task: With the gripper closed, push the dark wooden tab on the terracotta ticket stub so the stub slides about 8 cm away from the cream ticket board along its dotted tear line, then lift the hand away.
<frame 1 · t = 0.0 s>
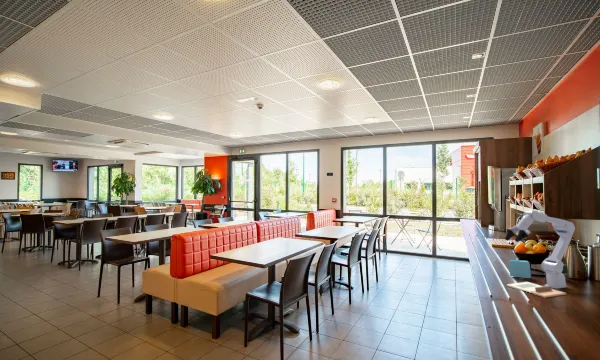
hand: (511, 240, 192), 32 cm above the counter, tool tilted 50°, fingers open, 7 cm apart
beer bottle: (562, 280, 207), on the counter
ticket board: (528, 288, 194), on the counter
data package: (520, 277, 218), on the counter
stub: (548, 291, 181), point 2 cm above the counter, slide at 0.0 cm
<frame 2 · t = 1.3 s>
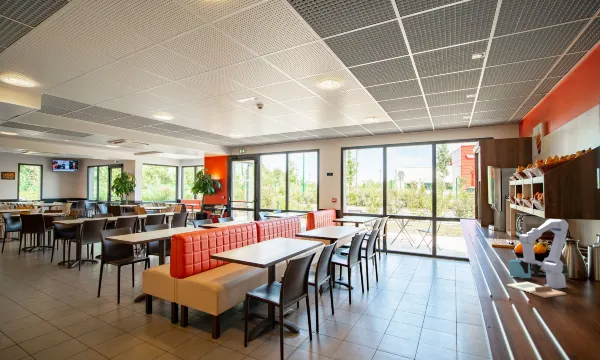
hand: (531, 274, 192), 9 cm above the counter, tool pointing down, fingers open, 6 cm apart
nothing on the counter moved.
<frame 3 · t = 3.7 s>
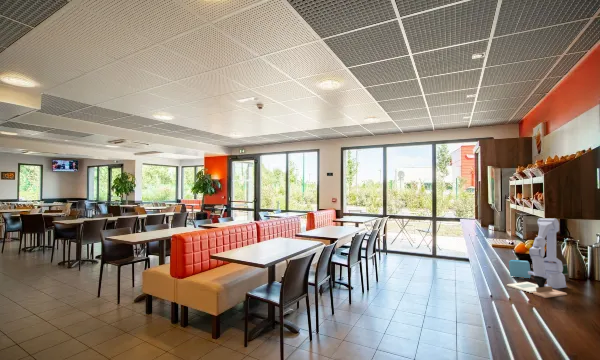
hand: (541, 288, 186), 2 cm above the counter, tool pointing down, fingers closed
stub: (549, 291, 181), point 2 cm above the counter, slide at 0.5 cm, touching gripper
everything else where it was.
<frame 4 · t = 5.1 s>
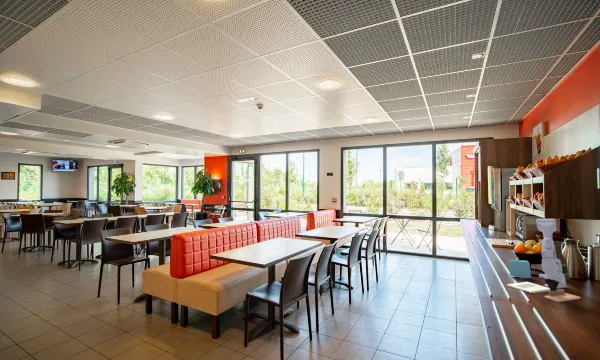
hand: (553, 292, 178), 2 cm above the counter, tool pointing down, fingers closed
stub: (561, 295, 173), point 2 cm above the counter, slide at 8.1 cm, touching gripper
everything else where it was.
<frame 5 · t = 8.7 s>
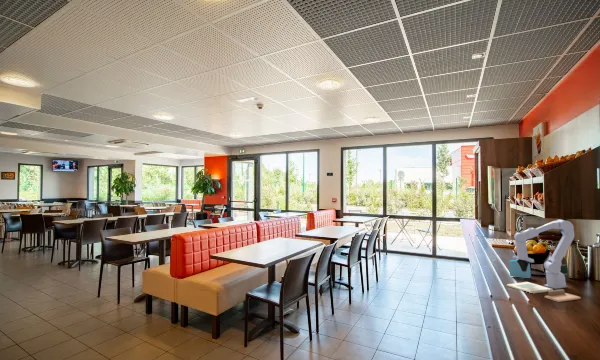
hand: (524, 271, 200), 9 cm above the counter, tool pointing down, fingers closed
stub: (561, 295, 173), point 2 cm above the counter, slide at 8.1 cm
everything else where it was.
at the end: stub slide at 8.1 cm; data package moved 0.3 cm from its start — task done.
